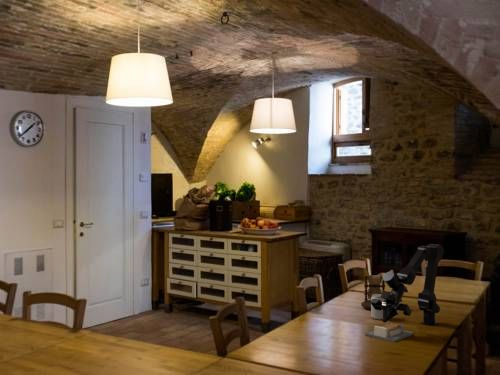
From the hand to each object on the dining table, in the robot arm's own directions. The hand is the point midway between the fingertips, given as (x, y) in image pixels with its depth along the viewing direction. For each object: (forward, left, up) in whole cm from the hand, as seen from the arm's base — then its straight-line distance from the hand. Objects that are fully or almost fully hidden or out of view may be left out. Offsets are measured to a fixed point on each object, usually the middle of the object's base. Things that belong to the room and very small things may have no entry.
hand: (383, 322), depth 247 cm
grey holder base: (-5, 0, -7) cm, 8 cm away
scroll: (-45, -33, -7) cm, 56 cm away
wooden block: (-10, 0, -3) cm, 10 cm away
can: (-28, -20, -7) cm, 35 cm away
